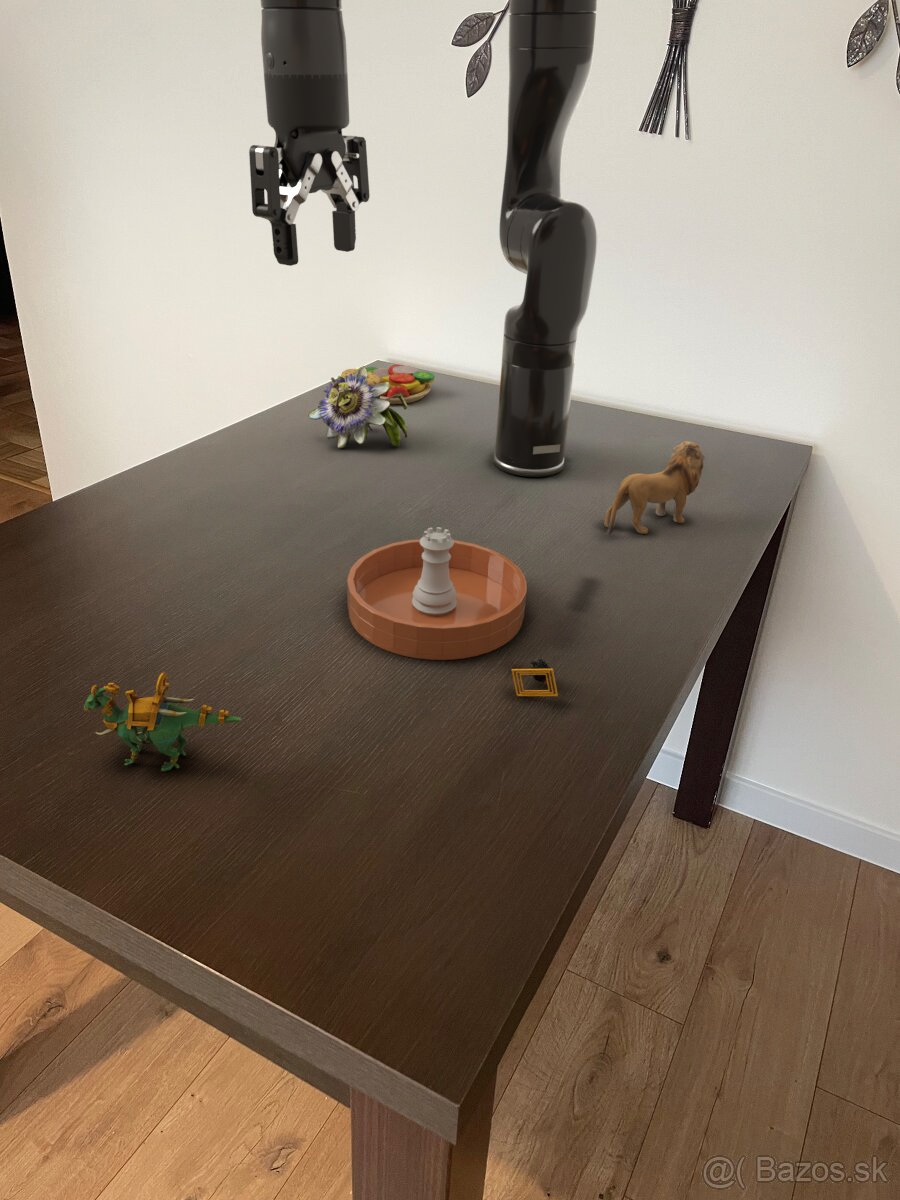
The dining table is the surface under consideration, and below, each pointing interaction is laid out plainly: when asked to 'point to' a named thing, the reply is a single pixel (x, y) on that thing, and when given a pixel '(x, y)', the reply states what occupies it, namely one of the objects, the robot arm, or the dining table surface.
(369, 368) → the toy food set
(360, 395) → the passion flower
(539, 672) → the golden picture frame
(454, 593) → the rook chess piece
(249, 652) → the dining table surface
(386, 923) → the dining table surface
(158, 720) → the figurine
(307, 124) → the robot arm
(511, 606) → the pan
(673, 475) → the lion figurine
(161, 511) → the dining table surface
